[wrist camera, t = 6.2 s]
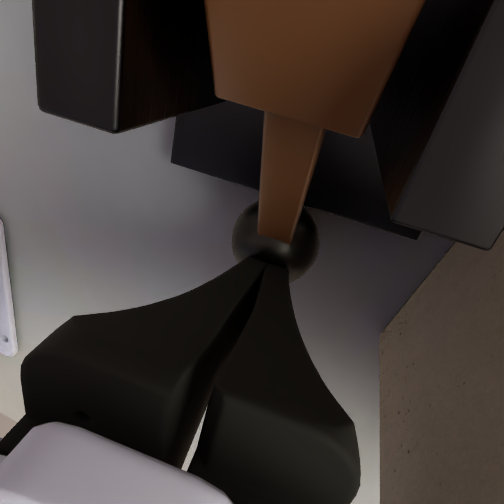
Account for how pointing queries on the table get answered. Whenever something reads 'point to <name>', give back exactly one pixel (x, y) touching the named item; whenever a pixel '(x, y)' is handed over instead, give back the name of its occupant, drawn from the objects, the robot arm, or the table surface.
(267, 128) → the lever
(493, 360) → the beige open box
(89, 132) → the table surface
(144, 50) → the lever stand
